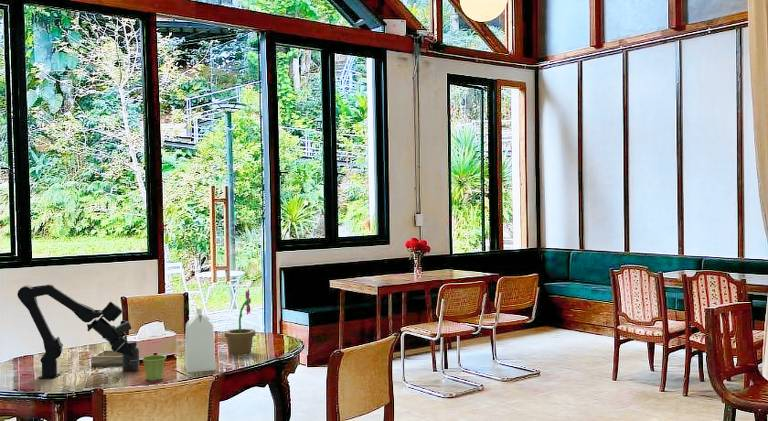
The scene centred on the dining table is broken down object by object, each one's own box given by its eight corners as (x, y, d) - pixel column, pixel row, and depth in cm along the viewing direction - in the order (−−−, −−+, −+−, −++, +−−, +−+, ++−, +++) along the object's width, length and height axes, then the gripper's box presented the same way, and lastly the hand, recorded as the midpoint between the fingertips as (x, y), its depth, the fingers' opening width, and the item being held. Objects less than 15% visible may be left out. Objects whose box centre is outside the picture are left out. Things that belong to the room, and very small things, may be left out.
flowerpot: (258, 354, 337) (257, 290, 336) (227, 357, 331) (226, 291, 331) (252, 348, 350) (251, 286, 350) (222, 351, 345) (221, 288, 344)
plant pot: (169, 375, 297) (169, 354, 297) (163, 381, 287) (162, 359, 287) (146, 376, 297) (145, 355, 296) (139, 382, 287) (138, 360, 287)
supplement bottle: (133, 372, 305) (133, 343, 305) (119, 371, 306) (118, 343, 306) (142, 368, 311) (142, 340, 311) (128, 367, 313) (127, 340, 313)
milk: (184, 366, 314) (183, 306, 314) (211, 364, 318) (210, 304, 318) (187, 372, 303) (186, 310, 302) (215, 369, 307) (214, 308, 306)
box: (123, 365, 318) (123, 356, 318) (91, 365, 317) (91, 356, 317) (134, 358, 332) (133, 349, 332) (103, 359, 331) (103, 350, 331)
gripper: (119, 318, 298) (147, 343, 302) (119, 312, 316) (147, 335, 320) (99, 339, 296) (128, 363, 300) (100, 331, 313) (128, 354, 317)
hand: (133, 353), depth 309 cm, fingers open, 9 cm apart
